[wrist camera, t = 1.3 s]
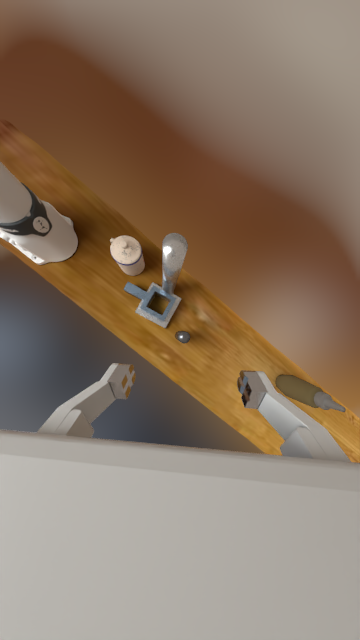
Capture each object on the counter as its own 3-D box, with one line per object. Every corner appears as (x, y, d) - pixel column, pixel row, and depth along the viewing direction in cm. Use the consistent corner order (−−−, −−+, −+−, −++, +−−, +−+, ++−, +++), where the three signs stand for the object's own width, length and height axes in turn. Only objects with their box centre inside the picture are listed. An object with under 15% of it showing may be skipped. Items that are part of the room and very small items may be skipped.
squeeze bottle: (283, 396, 52) (347, 431, 34) (269, 384, 51) (326, 414, 33) (293, 379, 53) (360, 405, 35) (279, 367, 52) (339, 388, 35)
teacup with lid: (150, 264, 48) (147, 244, 36) (133, 281, 46) (124, 266, 35) (125, 242, 47) (114, 214, 35) (107, 258, 46) (89, 235, 34)
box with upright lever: (119, 304, 45) (64, 271, 20) (141, 268, 47) (117, 195, 21) (165, 328, 47) (169, 328, 21) (184, 292, 49) (210, 253, 23)
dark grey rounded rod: (173, 337, 47) (176, 339, 37) (177, 329, 48) (182, 329, 38) (181, 341, 47) (186, 345, 38) (185, 333, 48) (192, 335, 38)
